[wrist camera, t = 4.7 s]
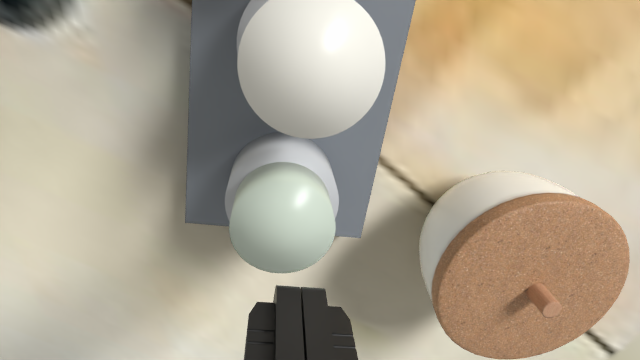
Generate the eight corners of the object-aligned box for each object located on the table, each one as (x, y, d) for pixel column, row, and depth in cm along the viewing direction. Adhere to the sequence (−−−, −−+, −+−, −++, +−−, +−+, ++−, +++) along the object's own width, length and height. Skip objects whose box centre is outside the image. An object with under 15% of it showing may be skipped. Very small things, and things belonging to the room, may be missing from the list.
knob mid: (249, -25, 15) (243, -27, 13) (383, -1, 15) (400, 1, 13) (238, 111, 17) (231, 129, 15) (357, 126, 18) (368, 146, 15)
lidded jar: (572, 158, 28) (699, 231, 20) (514, 284, 32) (597, 389, 24) (423, 135, 26) (492, 204, 18) (383, 271, 31) (422, 379, 22)
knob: (237, 156, 20) (233, 176, 18) (337, 167, 21) (344, 188, 19) (230, 242, 22) (225, 269, 20) (321, 249, 23) (326, 276, 21)
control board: (209, -263, 18) (184, -349, 13) (449, -201, 19) (501, -259, 15) (191, 206, 27) (174, 250, 22) (355, 222, 29) (369, 266, 24)
